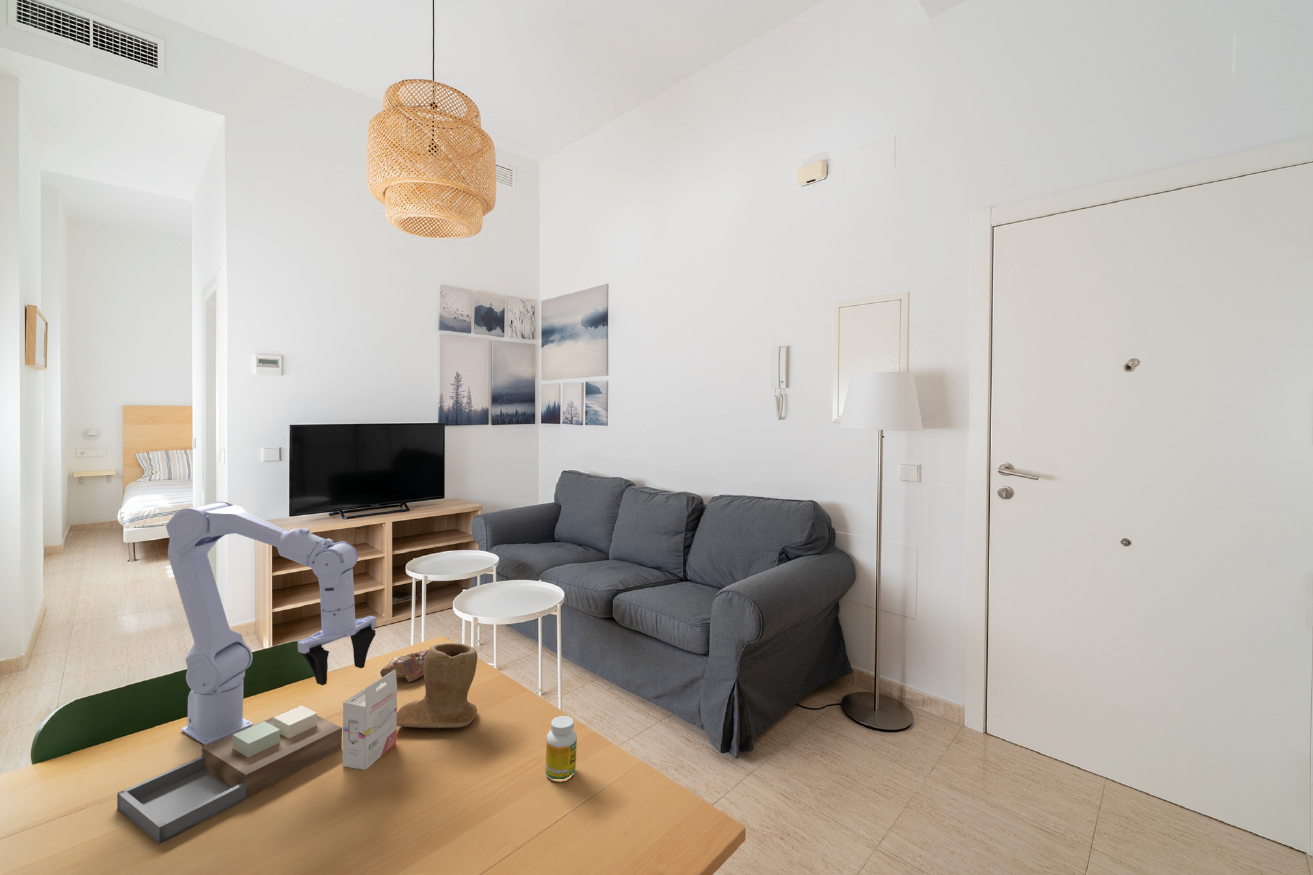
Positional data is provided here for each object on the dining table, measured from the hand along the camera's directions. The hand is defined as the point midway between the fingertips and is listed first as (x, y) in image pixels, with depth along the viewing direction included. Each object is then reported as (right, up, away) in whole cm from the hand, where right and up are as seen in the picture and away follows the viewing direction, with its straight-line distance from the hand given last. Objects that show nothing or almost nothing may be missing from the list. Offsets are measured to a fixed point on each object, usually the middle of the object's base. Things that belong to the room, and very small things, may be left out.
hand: (341, 674), depth 108 cm
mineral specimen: (+2, -11, +24) cm, 27 cm away
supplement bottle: (+45, -14, -9) cm, 48 cm away
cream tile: (-5, -7, -6) cm, 11 cm away
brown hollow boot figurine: (+17, -12, +7) cm, 22 cm away
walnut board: (-7, -11, -9) cm, 16 cm away
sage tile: (-8, -7, -12) cm, 16 cm away
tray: (-13, -12, -21) cm, 27 cm away
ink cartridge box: (+9, -12, -6) cm, 16 cm away
